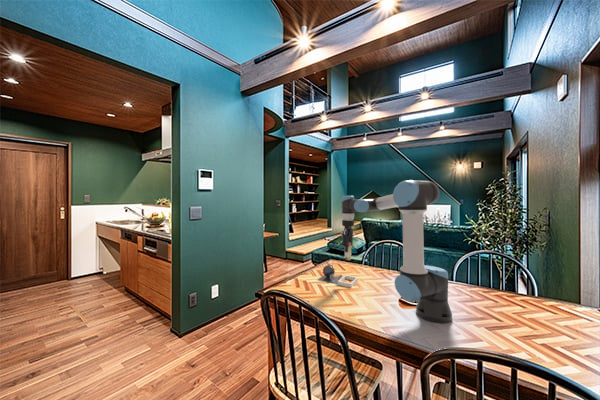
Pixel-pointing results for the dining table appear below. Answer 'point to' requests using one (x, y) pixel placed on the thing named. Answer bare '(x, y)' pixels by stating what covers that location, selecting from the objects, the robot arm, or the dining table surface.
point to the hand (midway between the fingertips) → (348, 256)
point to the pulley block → (329, 275)
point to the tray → (346, 282)
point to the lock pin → (349, 252)
